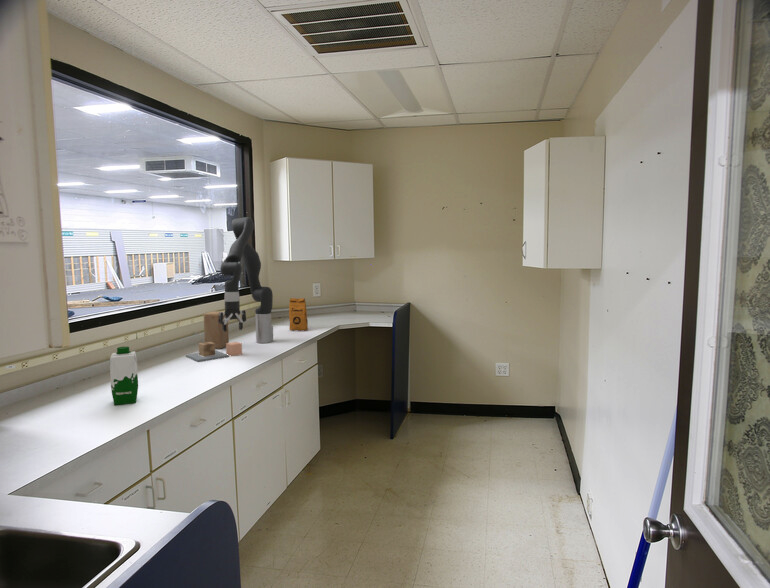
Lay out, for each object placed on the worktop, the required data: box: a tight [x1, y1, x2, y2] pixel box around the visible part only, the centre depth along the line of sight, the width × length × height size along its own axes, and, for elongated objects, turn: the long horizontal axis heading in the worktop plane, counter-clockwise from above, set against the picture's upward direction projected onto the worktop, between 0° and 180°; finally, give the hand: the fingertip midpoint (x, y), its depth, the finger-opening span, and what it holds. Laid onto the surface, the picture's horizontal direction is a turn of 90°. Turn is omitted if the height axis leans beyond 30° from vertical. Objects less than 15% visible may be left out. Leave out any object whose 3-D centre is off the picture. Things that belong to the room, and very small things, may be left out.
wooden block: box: [203, 310, 230, 350], centre depth 276 cm, size 10×10×20 cm
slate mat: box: [185, 349, 230, 363], centre depth 253 cm, size 16×16×1 cm
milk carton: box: [109, 346, 139, 406], centre depth 180 cm, size 9×9×20 cm
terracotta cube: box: [225, 341, 243, 357], centre depth 259 cm, size 6×6×6 cm
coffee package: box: [288, 297, 309, 332], centre depth 330 cm, size 10×12×22 cm
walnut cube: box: [198, 341, 216, 356], centre depth 253 cm, size 6×6×6 cm
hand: (232, 330), depth 258 cm, fingers open, 8 cm apart
